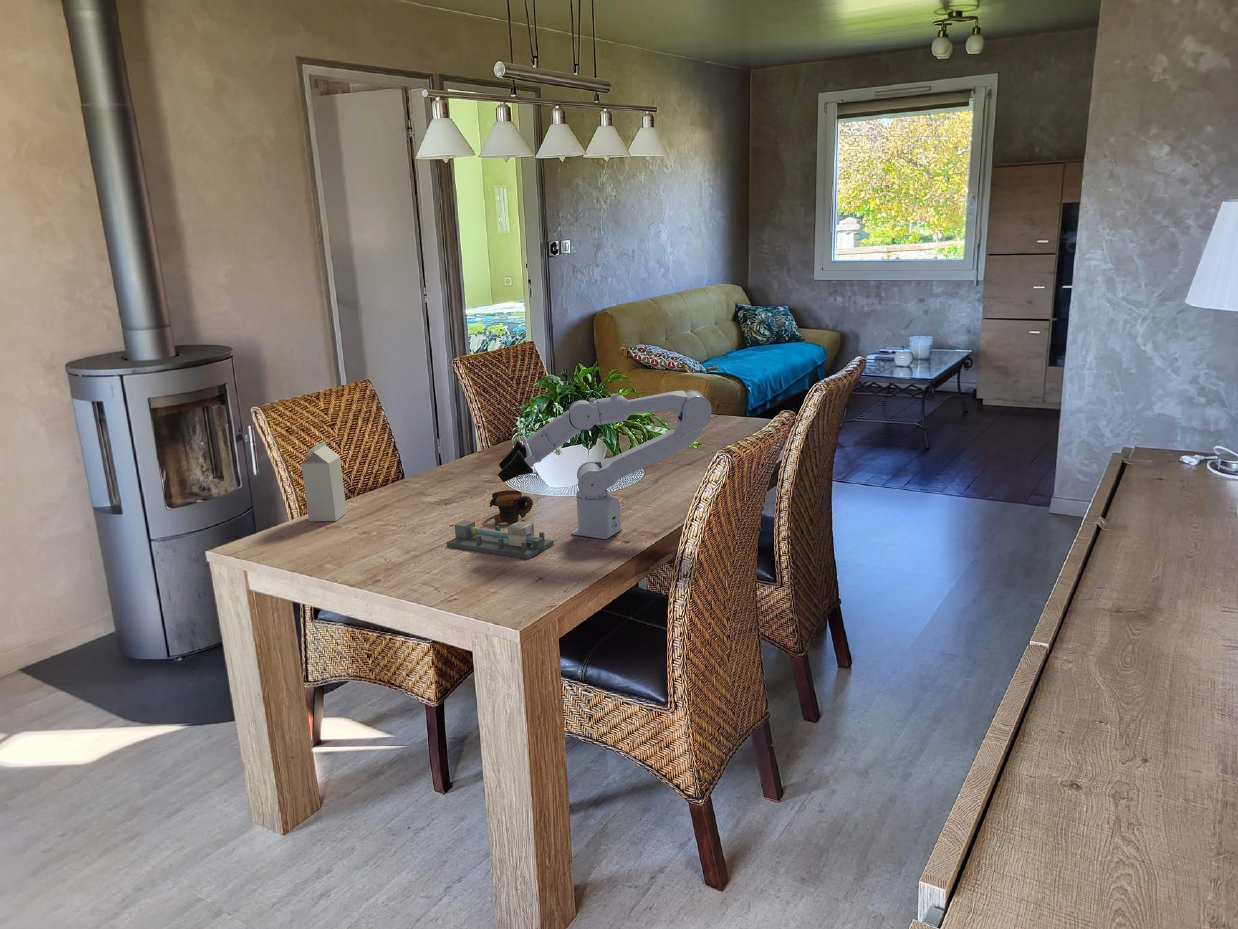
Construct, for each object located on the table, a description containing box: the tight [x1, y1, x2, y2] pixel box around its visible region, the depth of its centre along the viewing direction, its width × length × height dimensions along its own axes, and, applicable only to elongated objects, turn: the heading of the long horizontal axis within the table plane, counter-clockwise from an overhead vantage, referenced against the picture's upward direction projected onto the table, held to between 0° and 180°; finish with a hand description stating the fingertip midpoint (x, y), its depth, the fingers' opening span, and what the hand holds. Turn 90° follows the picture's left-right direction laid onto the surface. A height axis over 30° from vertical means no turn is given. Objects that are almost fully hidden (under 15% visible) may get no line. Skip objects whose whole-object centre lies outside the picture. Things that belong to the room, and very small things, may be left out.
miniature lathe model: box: [446, 519, 555, 560], centre depth 204 cm, size 22×10×4 cm, turn 61°
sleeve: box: [507, 520, 535, 546], centre depth 201 cm, size 4×4×4 cm
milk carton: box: [300, 440, 348, 522], centre depth 229 cm, size 7×7×19 cm
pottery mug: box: [489, 489, 534, 525], centre depth 223 cm, size 12×10×8 cm
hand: (500, 473), depth 206 cm, fingers open, 7 cm apart
